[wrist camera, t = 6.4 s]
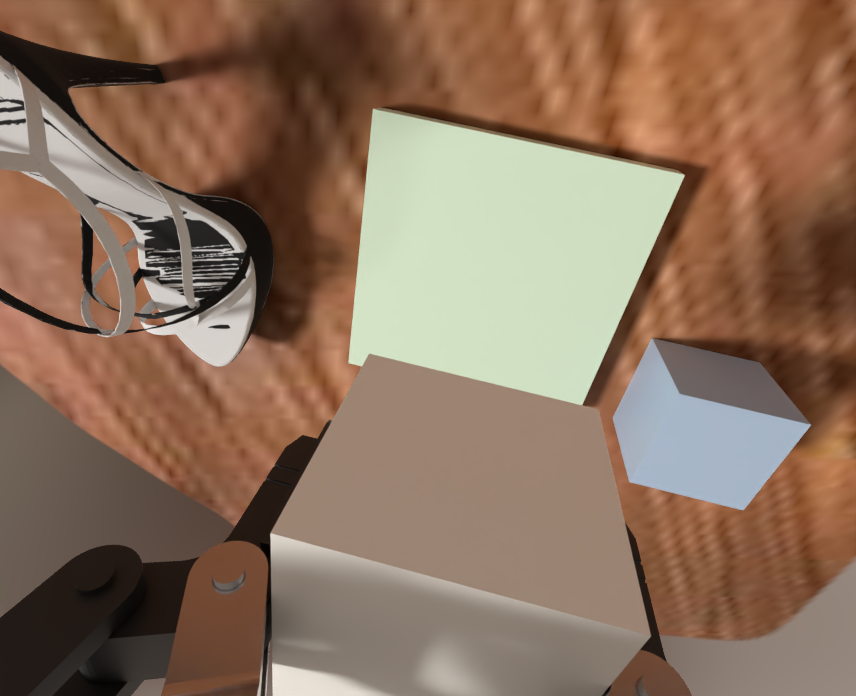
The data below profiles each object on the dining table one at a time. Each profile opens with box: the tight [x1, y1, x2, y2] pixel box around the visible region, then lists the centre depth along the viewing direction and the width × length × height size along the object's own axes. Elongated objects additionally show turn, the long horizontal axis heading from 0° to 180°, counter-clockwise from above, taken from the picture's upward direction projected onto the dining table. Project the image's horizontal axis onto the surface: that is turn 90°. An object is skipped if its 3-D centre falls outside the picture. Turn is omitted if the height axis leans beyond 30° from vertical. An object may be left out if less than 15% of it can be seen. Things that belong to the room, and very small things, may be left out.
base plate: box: [348, 107, 685, 405], centre depth 23 cm, size 13×13×1 cm
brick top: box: [613, 338, 811, 510], centre depth 23 cm, size 5×5×5 cm
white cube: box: [270, 354, 651, 696], centre depth 10 cm, size 5×5×5 cm
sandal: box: [0, 31, 274, 367], centre depth 18 cm, size 15×9×15 cm, turn 164°
